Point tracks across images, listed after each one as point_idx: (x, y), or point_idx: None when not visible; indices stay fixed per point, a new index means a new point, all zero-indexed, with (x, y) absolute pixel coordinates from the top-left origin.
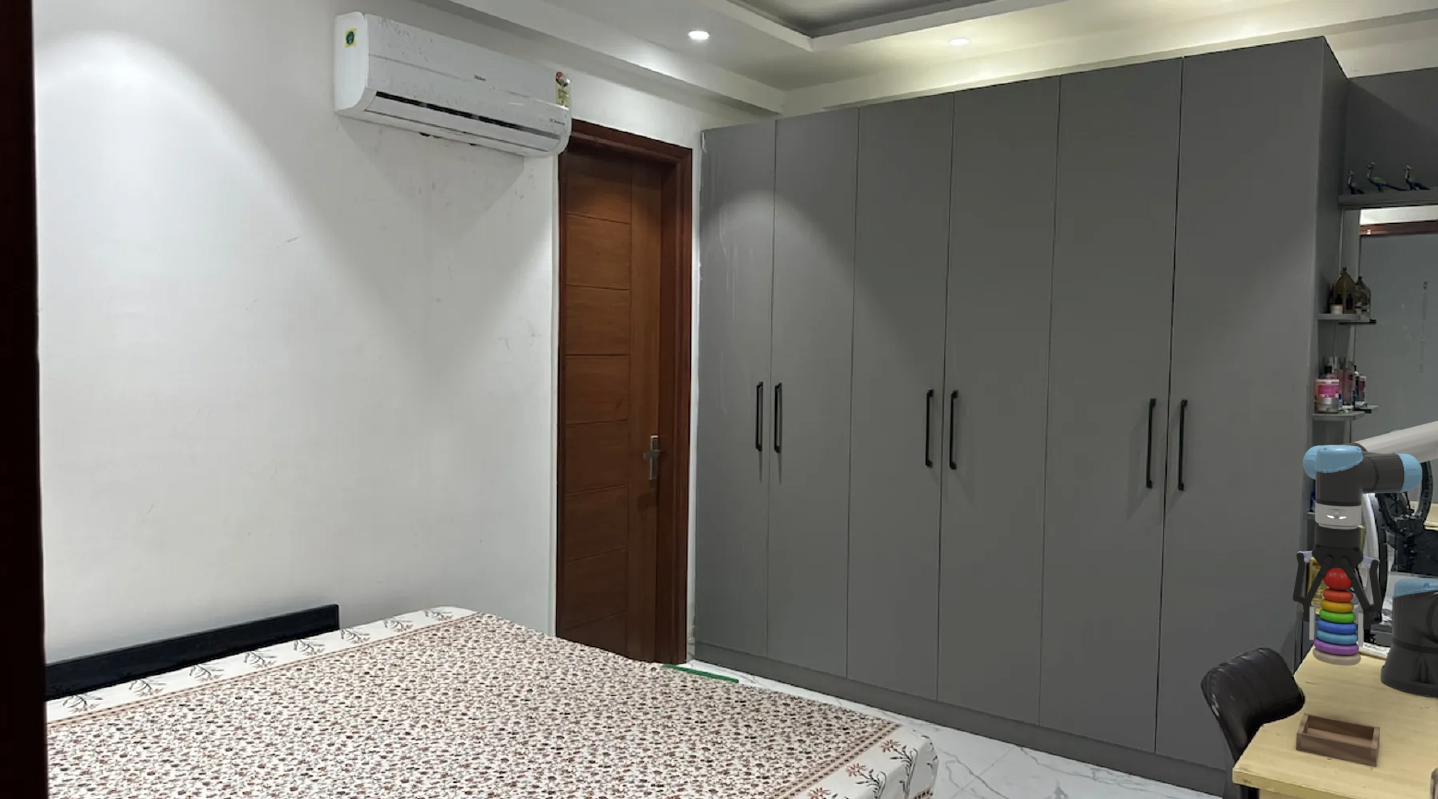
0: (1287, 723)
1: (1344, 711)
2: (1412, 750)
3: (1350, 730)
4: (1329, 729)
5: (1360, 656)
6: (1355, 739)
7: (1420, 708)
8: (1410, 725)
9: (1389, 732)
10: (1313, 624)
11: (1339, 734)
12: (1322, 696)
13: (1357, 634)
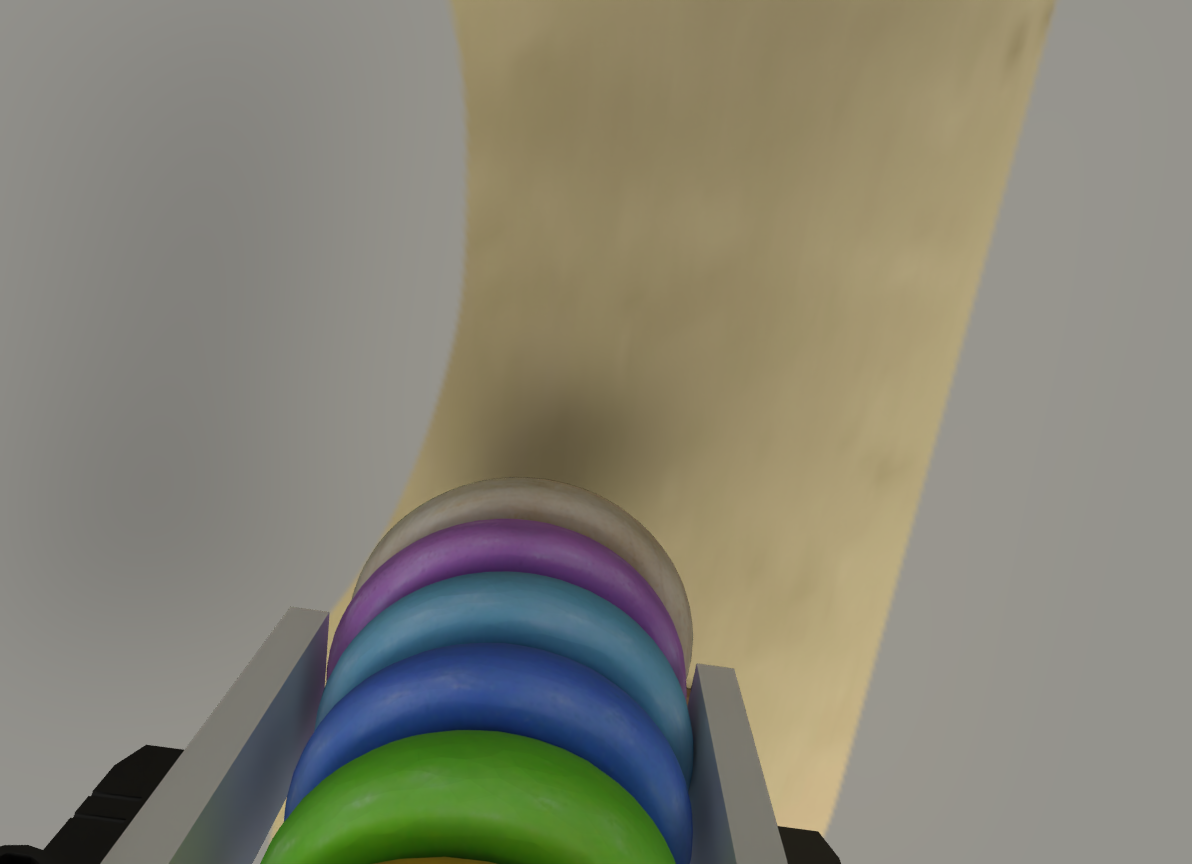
0: None
1: (603, 321)
2: (813, 706)
3: None
4: None
5: (690, 653)
6: None
7: (1010, 60)
8: (882, 391)
9: (765, 535)
10: (253, 847)
11: None
12: (510, 95)
13: (687, 772)
